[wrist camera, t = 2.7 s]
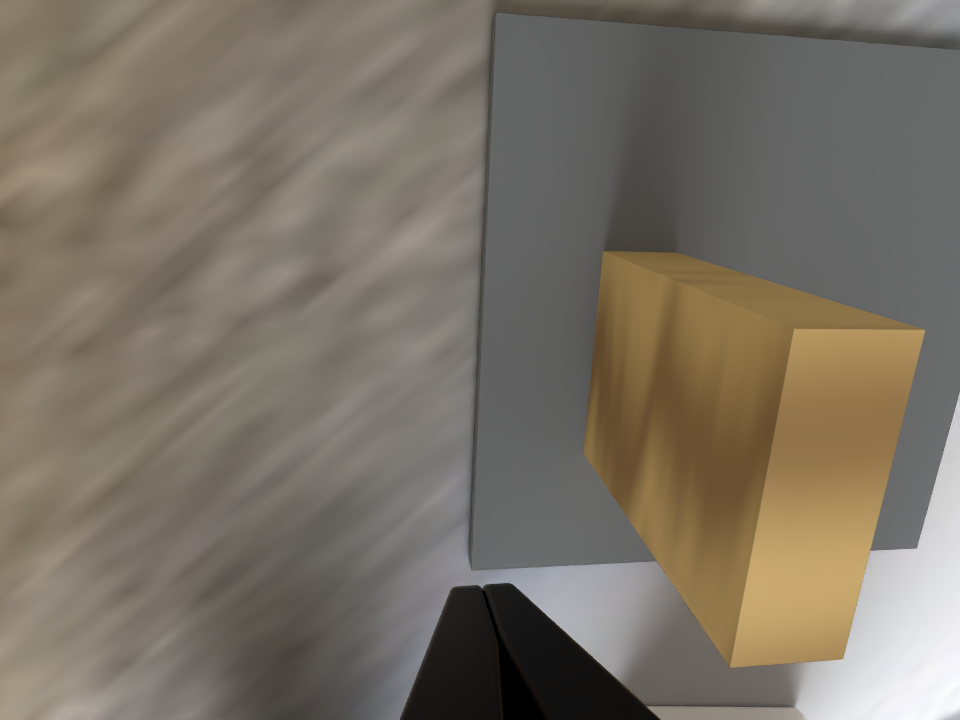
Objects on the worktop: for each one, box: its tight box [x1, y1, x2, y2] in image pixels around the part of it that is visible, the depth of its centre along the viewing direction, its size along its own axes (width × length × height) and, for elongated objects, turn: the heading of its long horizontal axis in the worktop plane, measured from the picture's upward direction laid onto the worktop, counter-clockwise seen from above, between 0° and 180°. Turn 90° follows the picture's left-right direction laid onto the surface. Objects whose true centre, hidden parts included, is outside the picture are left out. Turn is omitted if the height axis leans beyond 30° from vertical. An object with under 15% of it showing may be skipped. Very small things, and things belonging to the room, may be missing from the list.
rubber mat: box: [469, 13, 960, 570], centre depth 22 cm, size 18×18×1 cm
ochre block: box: [583, 251, 925, 668], centre depth 17 cm, size 7×2×10 cm, turn 177°
